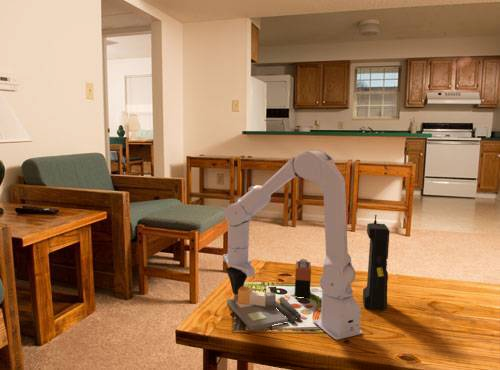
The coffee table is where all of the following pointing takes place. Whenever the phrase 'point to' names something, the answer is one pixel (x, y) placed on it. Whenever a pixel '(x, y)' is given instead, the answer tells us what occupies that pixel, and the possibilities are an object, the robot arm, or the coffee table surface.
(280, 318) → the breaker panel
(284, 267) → the coffee table surface
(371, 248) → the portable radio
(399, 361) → the coffee table surface
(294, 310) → the dark grey rounded rod
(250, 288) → the lever
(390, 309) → the coffee table surface
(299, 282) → the battery
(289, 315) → the dark grey rod
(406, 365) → the coffee table surface
